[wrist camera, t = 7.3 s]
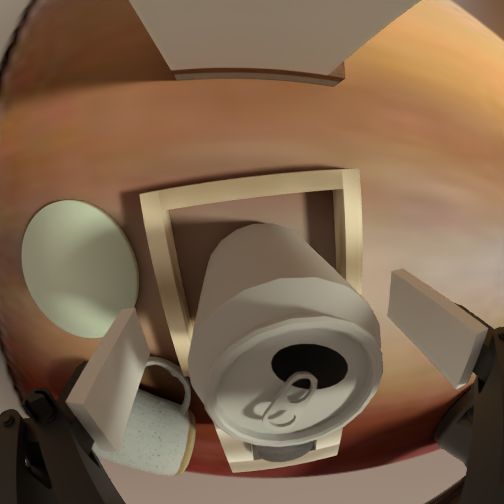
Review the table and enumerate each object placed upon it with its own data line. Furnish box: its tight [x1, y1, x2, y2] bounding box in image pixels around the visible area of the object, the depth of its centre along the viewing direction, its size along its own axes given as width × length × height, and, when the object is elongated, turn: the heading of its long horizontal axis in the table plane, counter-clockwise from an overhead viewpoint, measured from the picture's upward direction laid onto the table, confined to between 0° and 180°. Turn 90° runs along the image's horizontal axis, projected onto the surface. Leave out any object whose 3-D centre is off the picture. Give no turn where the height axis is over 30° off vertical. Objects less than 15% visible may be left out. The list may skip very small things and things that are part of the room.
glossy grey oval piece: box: [257, 441, 313, 462], centre depth 18 cm, size 4×4×5 cm
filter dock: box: [139, 169, 362, 473], centre depth 18 cm, size 22×13×6 cm, turn 7°
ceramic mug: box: [92, 356, 196, 475], centre depth 18 cm, size 11×8×8 cm
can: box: [188, 224, 383, 447], centre depth 14 cm, size 8×8×12 cm
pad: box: [21, 199, 139, 338], centre depth 18 cm, size 11×11×1 cm
